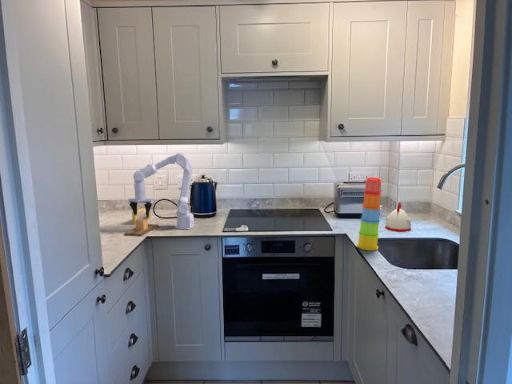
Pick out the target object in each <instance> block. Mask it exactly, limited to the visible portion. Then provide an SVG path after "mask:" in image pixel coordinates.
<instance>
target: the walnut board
mask: <svg viewBox="0 0 512 384" xmlns="http://www.w3.org/2000/svg"><path fill="white" fill-rule="evenodd" d="M158 227H159V224H154V223H153V224H151V223H148V228H147V229H145V230H136V227H134V228H131V229H130V230H128V231H126V232H125V233H124V236H129V235H130V236H131V237H142V236H144V235H146V234H147V233H149V232H151V231H153V230H155V229H157V228H158ZM130 236H129V237H130Z"/></svg>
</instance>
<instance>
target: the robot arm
mask: <svg viewBox="0 0 512 384" xmlns="http://www.w3.org/2000/svg"><path fill="white" fill-rule="evenodd" d="M169 165H178V166H180V167H181V168H182V170H183V175H182V182H181V187H180V193H179V194H180V196H179V200H178V202H177V203H176V208H177V209H176V210H177V211H176V226H175V227H174V229H175V230H176V229H177V230H191V229H192V228H193V227H195V224H194V223H195V220H194V219H195V218H194V213H191V212H190V211H189V206H188V204H189V194H190V193H189V192H190V187H191V181H192V172H193V166H192V165H191V162H190V160H189V159H188V157H187V156H186V155H185V154H184V153H182V152H177V153H176V154H173V155H171V156H168V157H166V158H165V159H162V160H160V161H159V162H157V163H156V164H154V163H153V164H152V163H149V164H146V166H145V167H143V168H139V170H136V171H135V172H134V174H133V177H132V178H133V179H134V181H133V183H134V197H135V198H129V199H127V200H128V205H129V207H130V208H131V210H132V212H134V215H137V210H138V203H139V204H142V203H143V205H144V208H145V209H146V216H148V215H149V212H151V208H152V206H153V204H154V200H153V199H150V198H146V197H147V196H146V185H145V178H146V179H147V178H149V177H151V176H153V175H155V174H157V172H158V170H160V169H162V168H164V167H166V166H169Z"/></svg>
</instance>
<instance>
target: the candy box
mask: <svg viewBox="0 0 512 384" xmlns="http://www.w3.org/2000/svg"><path fill="white" fill-rule="evenodd" d="M150 212H151V211H150ZM150 212H149V215H148V216H146V209H145V207H143V208H139V209H137V215H134V212H133V211H132V213H131V214H132V215H131V218H132V219H131V220H132V225H133V226H135V221H137V220H139V219H147V220H151V213H150Z"/></svg>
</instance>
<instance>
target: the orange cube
mask: <svg viewBox="0 0 512 384" xmlns="http://www.w3.org/2000/svg"><path fill="white" fill-rule="evenodd" d="M148 220H149V219H148ZM148 220H147V219H139V220H137V221H135V225H134V226H135V228H136V230H145V229H147V228H148V224H149V223H148Z"/></svg>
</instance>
